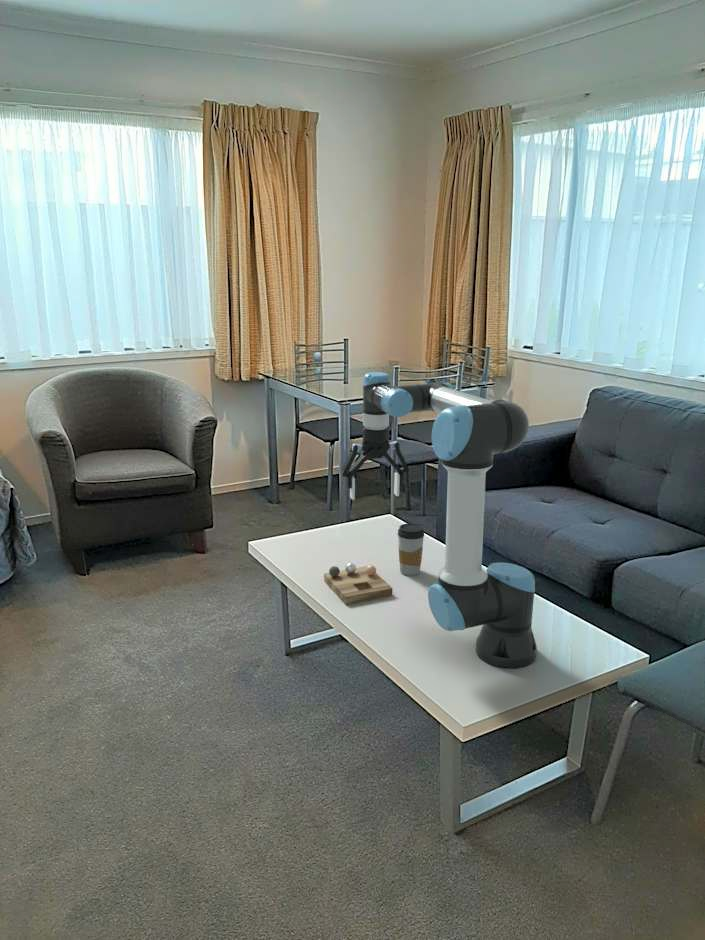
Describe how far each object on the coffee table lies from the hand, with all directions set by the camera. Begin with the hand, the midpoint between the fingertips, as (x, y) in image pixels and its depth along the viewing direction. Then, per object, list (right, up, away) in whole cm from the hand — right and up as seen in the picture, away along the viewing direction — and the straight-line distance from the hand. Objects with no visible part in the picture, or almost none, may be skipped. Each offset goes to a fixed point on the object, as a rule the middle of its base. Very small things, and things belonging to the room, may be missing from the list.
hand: (374, 496), depth 220 cm
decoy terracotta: (-1, -23, +7) cm, 24 cm away
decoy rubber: (-12, -23, +6) cm, 27 cm away
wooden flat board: (-5, -28, +4) cm, 28 cm away
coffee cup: (+12, -25, +16) cm, 31 cm away
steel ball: (-7, -22, +8) cm, 25 cm away
